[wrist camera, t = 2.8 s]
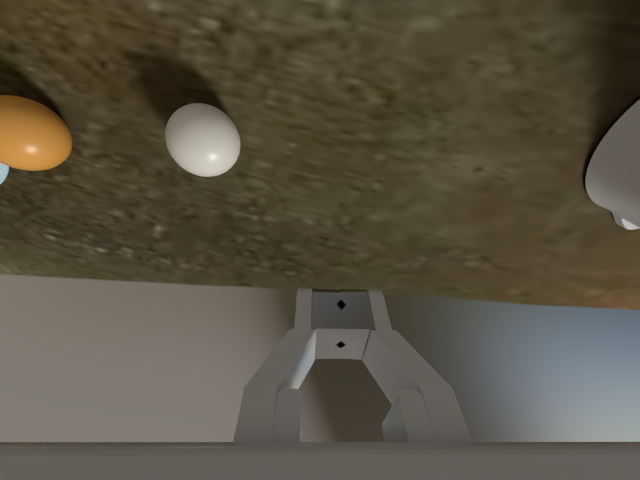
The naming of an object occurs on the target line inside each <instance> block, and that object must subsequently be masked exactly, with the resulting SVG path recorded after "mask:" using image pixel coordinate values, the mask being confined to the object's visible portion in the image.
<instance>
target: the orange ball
mask: <svg viewBox="0 0 640 480" xmlns="http://www.w3.org/2000/svg"><path fill="white" fill-rule="evenodd" d="M71 149H72V137H71V133H70V131H69V129H68V127H67V125H66V124H65V123H64V121H63V120H62V119H61V118H60V117H59V116H58V115H57V114H56V113H55V112H53V111H52V110H51V109H49V108H48V107H46V106H44V105H43V104H40V103H38V102H36V101H34V100H31V99H28V98H24V97H20V96H13V95H0V163H2V164H4V165H7V166H10V167H13V168H17V169H22V170H31V171H38V170H46V169H50V168H53V167H55V166H57V165H59V164H61V163H62V162H63V161H65V160H66V159H67V157H68V156H69V154H70V152H71Z"/></svg>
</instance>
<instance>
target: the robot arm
mask: <svg viewBox="0 0 640 480" xmlns="http://www.w3.org/2000/svg"><path fill="white" fill-rule="evenodd" d="M585 184H586V190H587V193H588V195H589V197H590V198H591V200H592V201H593V202H594V203H596V204H597V205H599V206H601V207H603V208H605V209H608V210H609V211H611V212H612V214H613V217H614V220H615V222H616V223H617V224H618V225H620V226H622V227H624V228H626V229H628V230H634V229H638V228H640V99H639V100H638V101H637V102H636V103H635V104H634V105H633V106H632V107H630V108H629V109H628V110H627V111H626V112H625V113H624V114H623V115H622V116H621V117H620V118H619V119H618V121H617V122H616V123H615V124H614V125H613V126H612V127H611V129H610V130H609V131H608V132H607V134H606V135H605V136H604V138H603V139H602V141H601V142H600V144H599V145H598V147H597V148H596V150H595V152H594V154H593V156H592V158H591V160H590V163H589V166H588V169H587V173H586V180H585ZM338 358H340V359H363V360H362V361H363V362H364V364H365V365H366V367H367V368H368V370H369V371H370V372H371V374H372V376H373V377H374V379H375V380H376V382H377V383H378V385H379V386H380V387H381V389H382V390H383V392H384V393H385V395H386V396H387V398H388V399H389V401H390V402H391V404H392V407H391V409H390V411H389V413H388V414H387V416H386V418H385V420H384V422H383V424H382V426H383V432H384V439H385V442H301V393H300V392H299V391H298V388H299V387H300V385H301V383H302V381H303V380H304V378H305V376H306V375H307V373H308V371H309V369H310V368H311V366H312V364H313V362H314V361H315V359H338ZM0 480H640V442H472V440H471V437H470V435H469V432H468V429H467V427H466V424H465V422H464V418H463V416H462V413H461V410H460V408H459V405H458V402H457V400H456V397H455V394H454V392H453V389H452V388H451V387H450V386H449V385H448V384H447V383H446V382H445V380H444V379H443V378H441V376H440V375H439V374H438V373H437V372H436V371H435V370H434V369H433V368H432V367H431V366H430V365H429V364H428V363H427V362H426V361H425V360H424V359H423V358H422V357H421V356H420V355H419V354H418V353H417V351H416V350H415V349H414V348H413V347H412V346H411V345H410V344H409V343H408V342H407V341H406V340H405V339H404V338H403V337H402V336H401V335H400V334H399V333H398V332H397V331H396V330H392V328H391V325H390V321H389V316H388V312H387V308H386V304H385V301H384V297H383V293H382V291H381V290H355V289H339V290H331V289H304V288H298V290H297V301H296V314H295V328H294V329H290V330H289V331H288V332H287V334H286V335H285V336H284V337H283V339H282V340H281V341H280V343H279V344H278V345H277V346H276V348H275V349H274V350H273V351H272V353H271V354H270V355H269V356H268V358H267V359H266V360H265V362H264V363H263V364H262V365H261V367H260V368H259V369H258V370H257V372H256V373H255V374H254V375H253V377H252V378H251V379H250V380H249V382H248V383H247V385H246V386H245V387H244V392H243V397H242V402H241V407H240V412H239V417H238V422H237V426H236V431H235V436H234V441H233V442H22V443H21V442H0Z"/></svg>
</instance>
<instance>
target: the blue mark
mask: <svg viewBox="0 0 640 480" xmlns="http://www.w3.org/2000/svg"><path fill="white" fill-rule="evenodd" d="M8 172H9V166H7V165H4V164H2V163H0V184H1V183H2V182H3V181H4V180H5V179H6V177H7V175H8Z"/></svg>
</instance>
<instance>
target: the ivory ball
mask: <svg viewBox="0 0 640 480" xmlns="http://www.w3.org/2000/svg"><path fill="white" fill-rule="evenodd" d="M165 140H166V145H167V148H168V150H169V152H170V154H171V156H172V157H173V159H174V160H175V161H176V162H177V163H178V164H179V165H180V166H181V167H182V168H183V169H185V170H187V171H188V172H190V173H193V174H195V175H199V176H205V177H211V176H217V175H220V174H222V173H224V172H226V171H228V170H229V169H230V168H231V167H232V166H233V165H234V164H235V162H236V160H237V158H238V156H239V152H240V137H239V134H238V131H237V129H236V126H235V125H234V123H233V122H232V120H231V119H230V118H229V117H228V116H227V115H226V114H225V113H224V112H222V111H221V110H220V109H218V108H216V107H214V106H211V105H208V104H203V103H192V104H188V105H185V106H182V107H181V108H179V109H178V110H176V111H175V112H174V113H173V114H172V115H171V117H170V119H169V120H168V123H167V125H166V130H165Z"/></svg>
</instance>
